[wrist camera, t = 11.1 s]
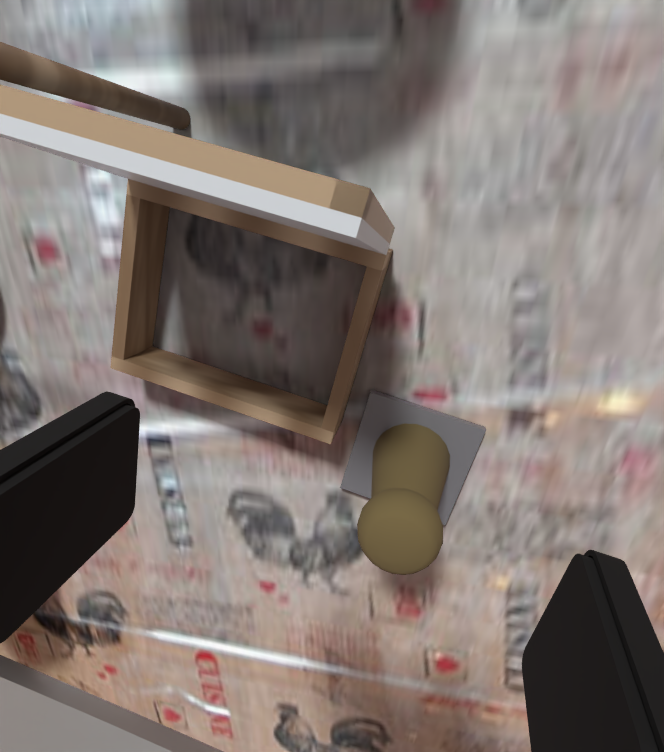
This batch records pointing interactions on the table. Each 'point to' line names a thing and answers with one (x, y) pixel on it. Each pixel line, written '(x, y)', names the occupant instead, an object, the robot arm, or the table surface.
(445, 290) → the table surface
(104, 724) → the robot arm
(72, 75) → the stick
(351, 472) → the coaster
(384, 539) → the yellow tapered piece
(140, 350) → the wooden box
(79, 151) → the lid
